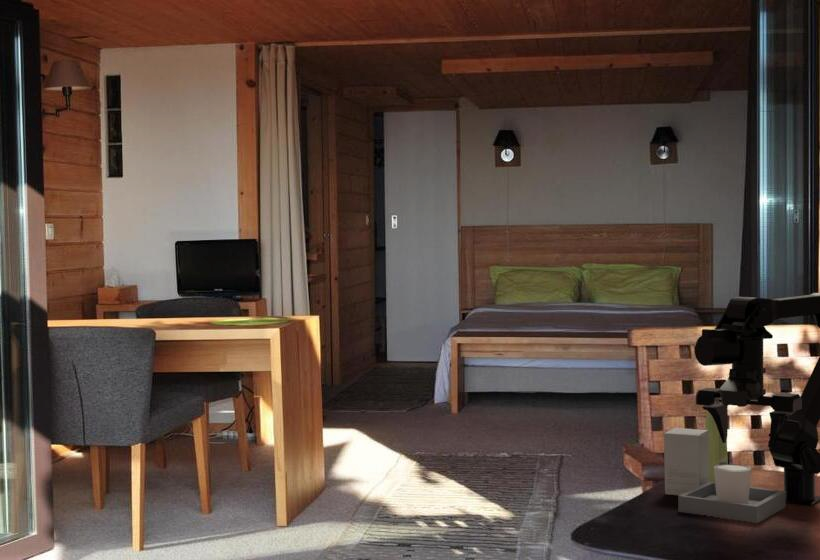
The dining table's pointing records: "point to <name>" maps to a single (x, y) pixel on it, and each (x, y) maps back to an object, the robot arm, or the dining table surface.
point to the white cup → (732, 482)
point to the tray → (732, 503)
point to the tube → (715, 446)
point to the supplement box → (685, 459)
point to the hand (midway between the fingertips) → (748, 444)
